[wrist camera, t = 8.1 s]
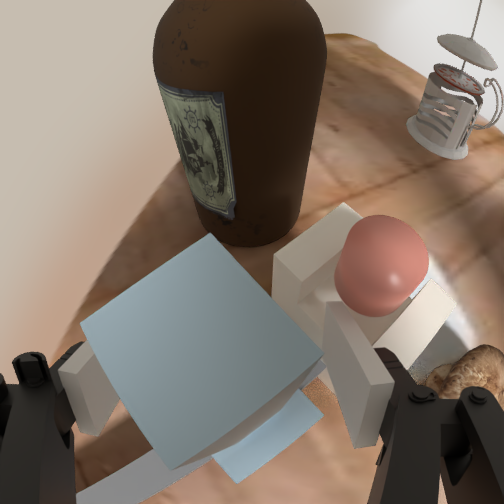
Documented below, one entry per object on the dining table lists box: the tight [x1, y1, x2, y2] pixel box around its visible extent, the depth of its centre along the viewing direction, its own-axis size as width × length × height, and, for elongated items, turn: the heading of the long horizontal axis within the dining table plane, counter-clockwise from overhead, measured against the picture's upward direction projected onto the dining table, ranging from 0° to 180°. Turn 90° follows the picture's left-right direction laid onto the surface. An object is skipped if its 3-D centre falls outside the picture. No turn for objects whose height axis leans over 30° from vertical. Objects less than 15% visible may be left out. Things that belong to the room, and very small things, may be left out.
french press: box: [406, 0, 504, 160], centre depth 25 cm, size 10×12×25 cm
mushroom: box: [425, 344, 504, 410], centre depth 17 cm, size 8×8×6 cm
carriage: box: [80, 233, 324, 484], centre depth 12 cm, size 6×6×17 cm
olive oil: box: [153, 0, 327, 247], centre depth 19 cm, size 11×11×25 cm
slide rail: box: [76, 202, 457, 504], centre depth 14 cm, size 32×8×10 cm, turn 129°
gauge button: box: [334, 215, 429, 317], centre depth 13 cm, size 4×4×2 cm
